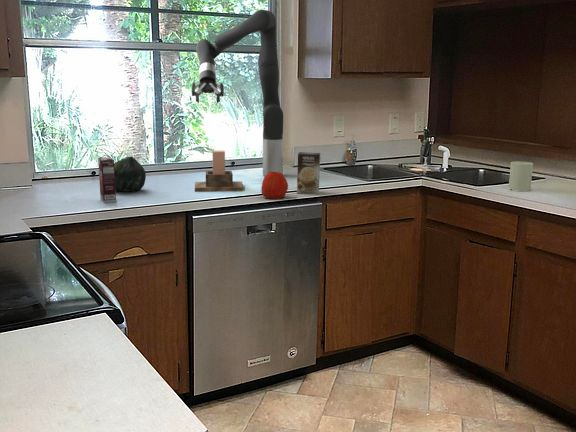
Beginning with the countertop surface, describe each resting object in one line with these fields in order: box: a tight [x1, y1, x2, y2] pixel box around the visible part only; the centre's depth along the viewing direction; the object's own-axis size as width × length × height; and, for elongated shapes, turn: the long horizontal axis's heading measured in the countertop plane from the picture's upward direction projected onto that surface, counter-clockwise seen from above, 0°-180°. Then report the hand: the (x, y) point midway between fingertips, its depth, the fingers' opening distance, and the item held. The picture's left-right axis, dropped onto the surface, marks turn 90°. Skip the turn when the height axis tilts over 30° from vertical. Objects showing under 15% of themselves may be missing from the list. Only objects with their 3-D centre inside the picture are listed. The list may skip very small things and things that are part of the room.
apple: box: [261, 171, 289, 200], centre depth 249 cm, size 10×10×10 cm
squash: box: [114, 156, 147, 193], centre depth 258 cm, size 14×15×15 cm
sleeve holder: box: [194, 170, 245, 192], centre depth 268 cm, size 20×15×6 cm
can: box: [508, 160, 534, 192], centre depth 272 cm, size 9×9×12 cm
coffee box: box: [296, 151, 321, 195], centre depth 259 cm, size 9×6×16 cm
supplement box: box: [97, 156, 117, 204], centre depth 238 cm, size 9×5×16 cm, turn 24°
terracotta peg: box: [212, 150, 226, 174], centre depth 266 cm, size 5×5×14 cm
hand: (208, 101), depth 283 cm, fingers open, 8 cm apart
